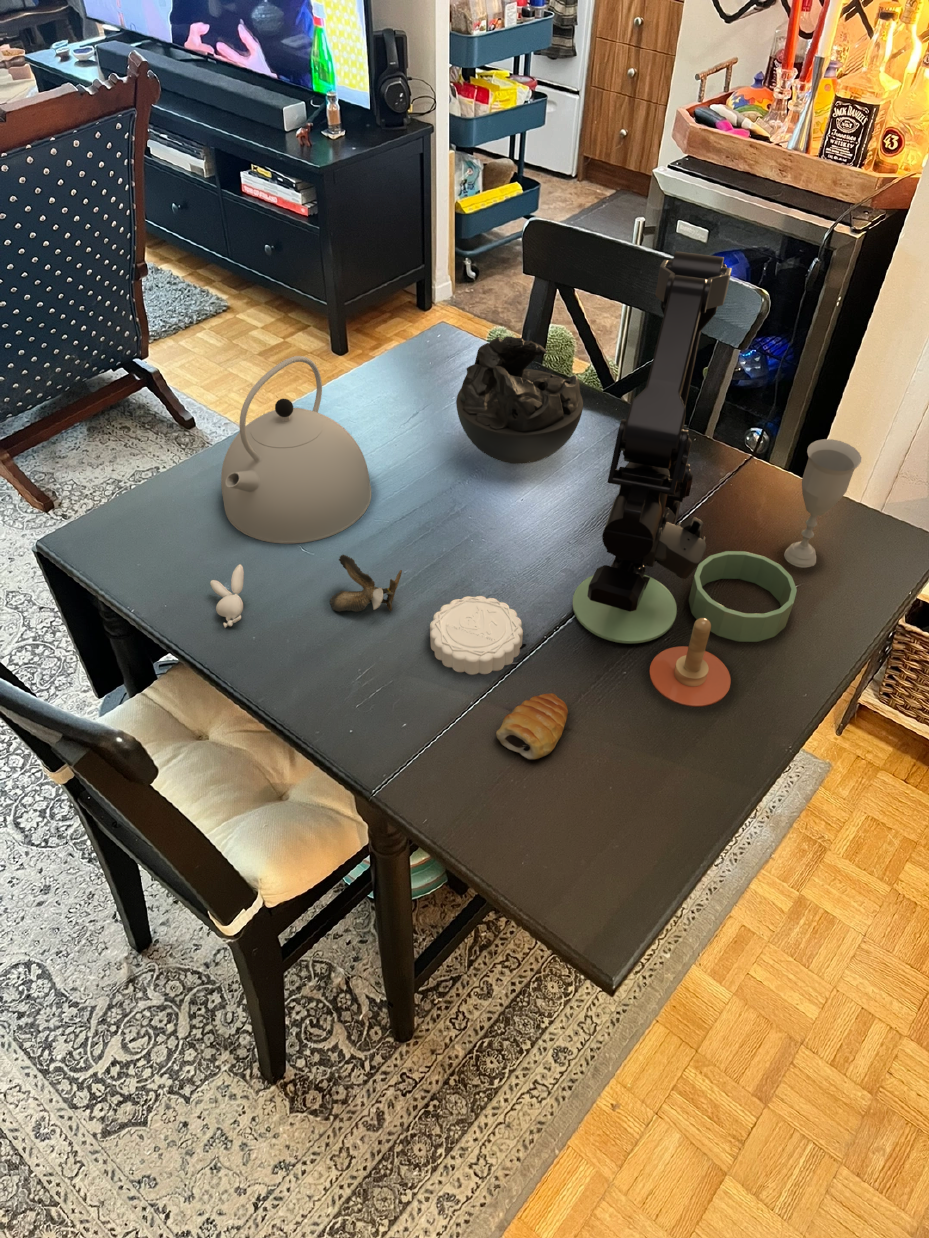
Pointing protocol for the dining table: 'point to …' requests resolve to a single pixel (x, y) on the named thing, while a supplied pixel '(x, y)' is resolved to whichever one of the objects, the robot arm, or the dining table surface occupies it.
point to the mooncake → (476, 635)
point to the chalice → (822, 490)
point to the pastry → (534, 726)
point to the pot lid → (627, 615)
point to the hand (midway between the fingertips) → (625, 601)
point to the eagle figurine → (368, 594)
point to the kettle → (293, 472)
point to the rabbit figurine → (230, 597)
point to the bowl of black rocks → (517, 403)
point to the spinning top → (683, 694)
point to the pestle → (694, 656)
